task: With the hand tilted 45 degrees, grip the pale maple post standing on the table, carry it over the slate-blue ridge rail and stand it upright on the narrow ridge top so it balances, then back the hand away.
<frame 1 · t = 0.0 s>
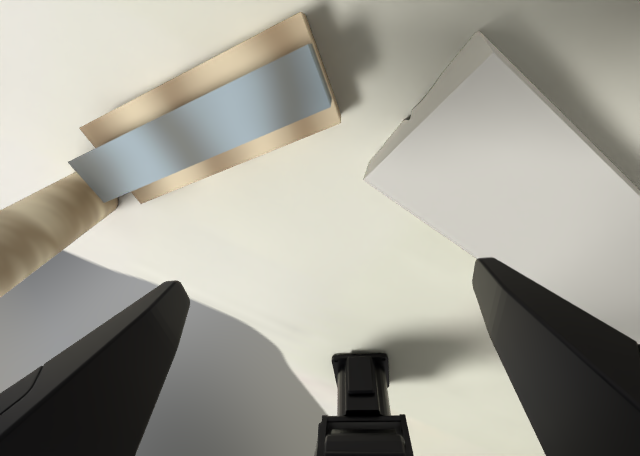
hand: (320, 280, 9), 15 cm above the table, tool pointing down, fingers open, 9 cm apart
ridge rail: (219, 116, 21), on the table
maple post: (93, 193, 25), on the table
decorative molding: (559, 230, 25), on the table
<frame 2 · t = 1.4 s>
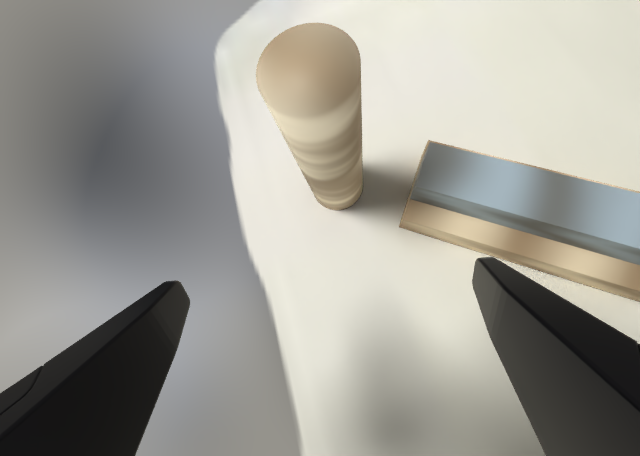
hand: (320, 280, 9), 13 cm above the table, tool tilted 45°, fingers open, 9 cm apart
ridge rail: (521, 222, 21), on the table
maple post: (337, 185, 24), on the table
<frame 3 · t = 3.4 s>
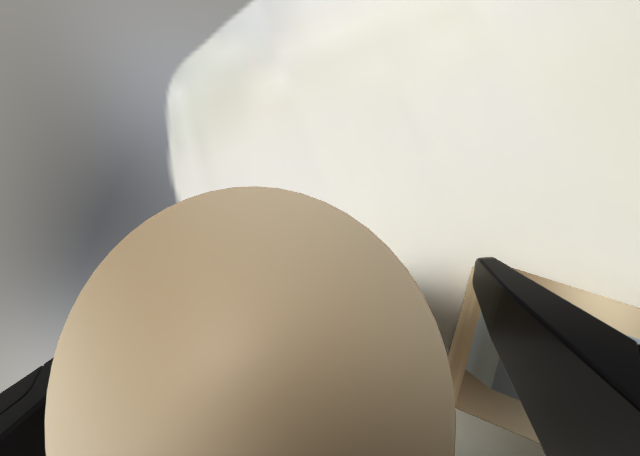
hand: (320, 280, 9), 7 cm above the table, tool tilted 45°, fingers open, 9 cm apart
maple post: (341, 309, 15), on the table
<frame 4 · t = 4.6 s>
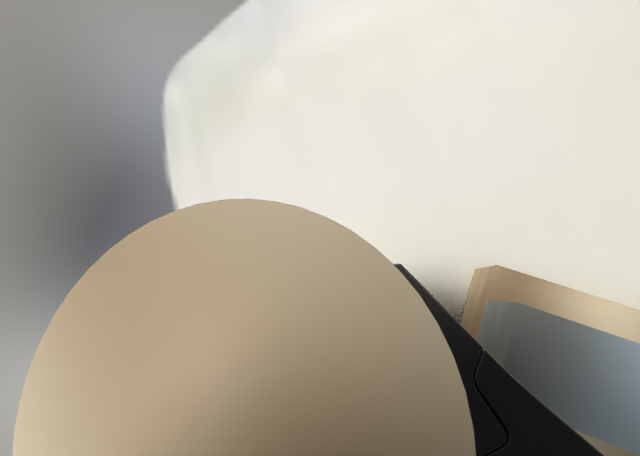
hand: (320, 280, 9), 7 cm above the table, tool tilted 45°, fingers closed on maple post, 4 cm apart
maple post: (340, 312, 15), on the table, touching gripper
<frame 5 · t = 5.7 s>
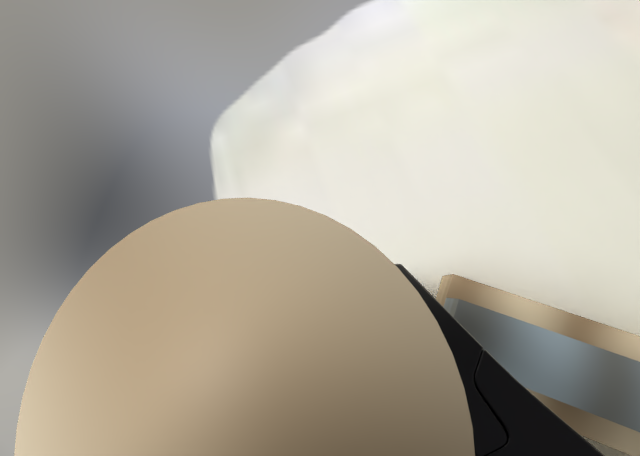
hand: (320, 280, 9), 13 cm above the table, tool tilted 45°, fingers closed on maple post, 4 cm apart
ridge rail: (558, 365, 19), on the table
maple post: (340, 312, 15), point 6 cm above the table, touching gripper
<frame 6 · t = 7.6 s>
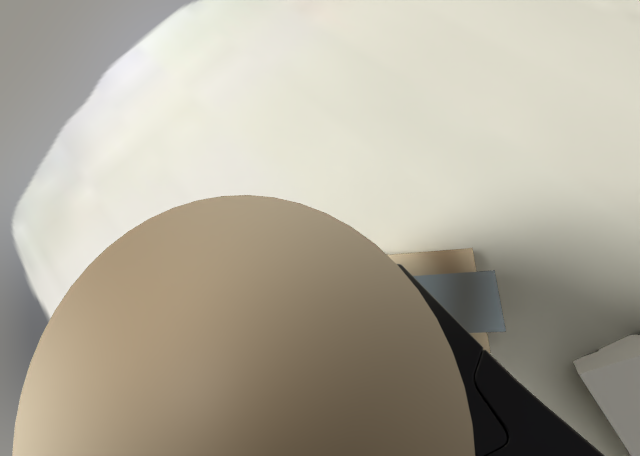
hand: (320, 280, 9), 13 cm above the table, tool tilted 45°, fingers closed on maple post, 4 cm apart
ridge rail: (347, 304, 21), on the table
maple post: (340, 311, 15), point 6 cm above the table, touching gripper
when the fingers open (12 cm above the table, at t = 8.5 s): maple post stays where it is, resting on ridge rail.
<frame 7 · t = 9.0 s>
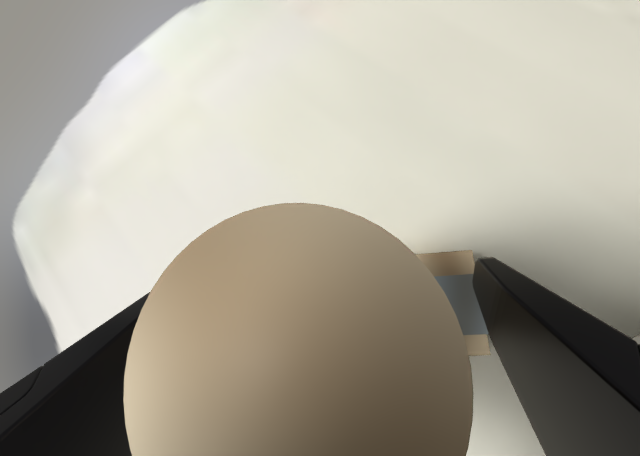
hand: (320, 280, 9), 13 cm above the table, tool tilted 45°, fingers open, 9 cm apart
ridge rail: (347, 306, 21), on the table
maple post: (342, 311, 16), point 5 cm above the table, touching ridge rail
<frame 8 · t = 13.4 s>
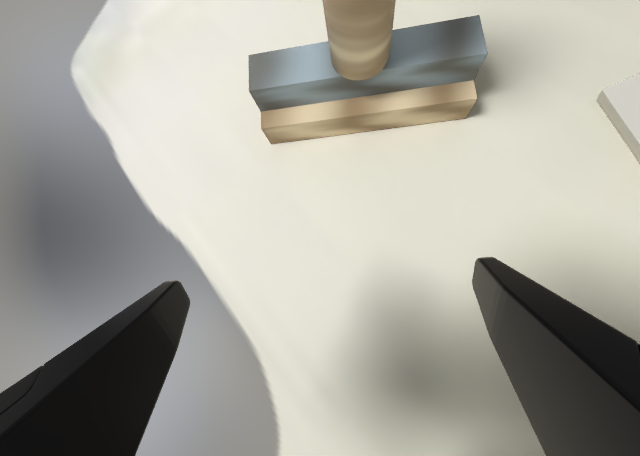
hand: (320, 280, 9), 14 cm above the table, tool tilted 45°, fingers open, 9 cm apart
ridge rail: (360, 99, 25), on the table
maple post: (360, 54, 20), point 5 cm above the table, touching ridge rail
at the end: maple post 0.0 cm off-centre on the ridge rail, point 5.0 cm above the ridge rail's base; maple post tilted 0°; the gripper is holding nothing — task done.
